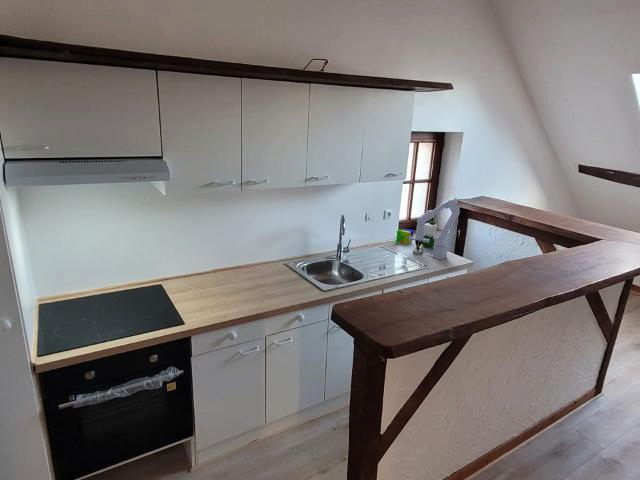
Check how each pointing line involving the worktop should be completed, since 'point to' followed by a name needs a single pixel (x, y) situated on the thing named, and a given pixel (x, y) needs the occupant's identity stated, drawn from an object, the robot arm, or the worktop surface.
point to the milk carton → (429, 234)
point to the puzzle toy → (404, 235)
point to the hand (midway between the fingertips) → (417, 250)
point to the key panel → (418, 251)
